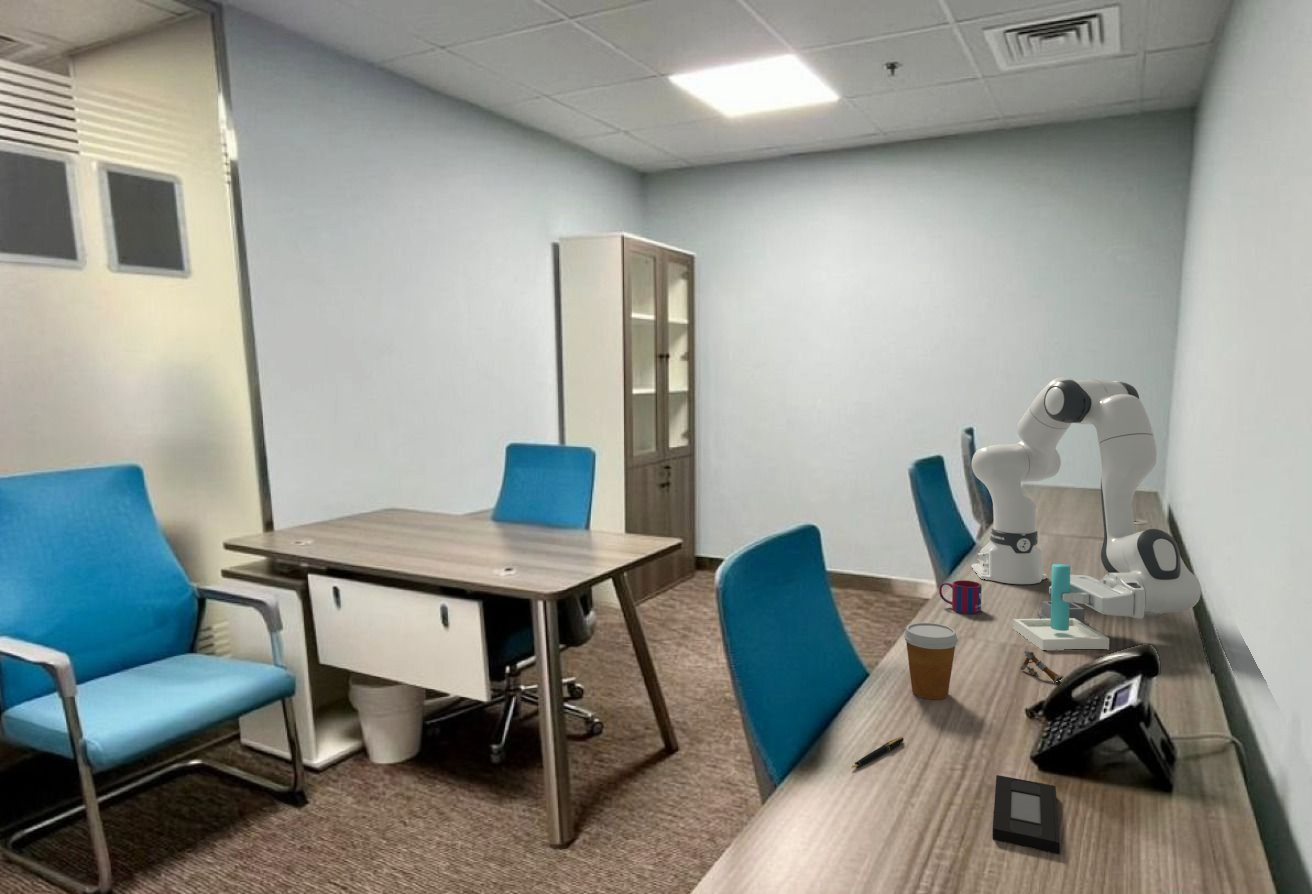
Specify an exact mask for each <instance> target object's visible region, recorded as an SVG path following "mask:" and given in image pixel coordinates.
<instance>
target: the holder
mask: <svg viewBox="0 0 1312 894" xmlns="http://www.w3.org/2000/svg"><path fill="white" fill-rule="evenodd" d="M1085 611H1086V609H1085V608H1083V607H1082V606H1080V605H1078V603H1075V602H1070V607H1069V618H1075V619H1076V620H1078V621H1080V622H1082V623H1083V624H1085V625H1087V626H1089V627H1090V623H1089V622H1088V621H1086V620H1085V618H1086V617H1085V615H1086V614H1085V613H1086V612H1085ZM1037 616H1038V619H1040V618H1041V619H1051V600H1044V601H1043V600H1042V601H1041V612H1040V613H1039V612H1038V613H1037Z"/></svg>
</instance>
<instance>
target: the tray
mask: <svg viewBox="0 0 1312 894" xmlns="http://www.w3.org/2000/svg"><path fill="white" fill-rule="evenodd" d="M1013 629H1014V630H1013ZM1012 630H1013V631H1015V632H1016V631H1017V632H1018V633H1017V632H1016V633H1017V634H1019V633H1020V634H1021V635H1020V634H1019V635H1020V636H1021V637H1023V636H1024V637H1025V638H1024V637H1023V638H1024V639H1026V640H1027V639H1028V640H1027V641H1029V642H1030V643H1031V642H1032V643H1031V644H1033V645H1034V646H1036V648H1038V647H1039V648H1038V649H1039V650H1041V649H1042V650H1047V651H1056V650H1055V649H1058V650H1057V651H1065V650H1064V649H1107V650H1108V651H1109V650H1110V638H1109V637H1107V636H1106V635H1104V634H1102V633H1100V632H1099V631H1097V630H1096V629H1094V628H1092V627H1090V625H1089V626H1087V625H1085V624H1083V623H1082V622H1080V621H1078V620H1076V619H1075V618H1069V630H1067V631H1060V630H1055V629H1052V628H1051V619H1040V618H1013V619H1012ZM1042 650H1041V651H1042Z"/></svg>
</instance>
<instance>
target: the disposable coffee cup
mask: <svg viewBox="0 0 1312 894" xmlns="http://www.w3.org/2000/svg"><path fill="white" fill-rule="evenodd" d="M903 638H904V641H905V644H906V650H907V651H906V652H907V658H908V659H907V660H908V668H909V674H910V675H909V676H910V683H911V691H912V694H914V695H915V696H916V697H920V698H922V699H926V700H927V699H928V700H943V699H946V698H947V697H948V696H949V690H950V685H951V684H950V682H951V676H952V669H953V664H954V657H955V650H956V646H957V643H958V642H959V637H958V636H957V633H956V630H955V629H954V628H953V627H951V626H948V625H945V624H941V623H935V622H914V623H910V624H908V625H907V626H906V627H905V631H904V632H903Z"/></svg>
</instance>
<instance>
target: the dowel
mask: <svg viewBox="0 0 1312 894" xmlns="http://www.w3.org/2000/svg"><path fill="white" fill-rule="evenodd" d="M1070 575H1071V565H1069V564H1065V563H1064V564H1063V563H1053V564H1051V585H1050V586H1051V594H1050V601H1051V628H1052V629H1055V630H1060V631H1067V630H1069V607H1070V602H1064V601H1063V600H1061V593H1062V592H1070Z"/></svg>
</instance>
